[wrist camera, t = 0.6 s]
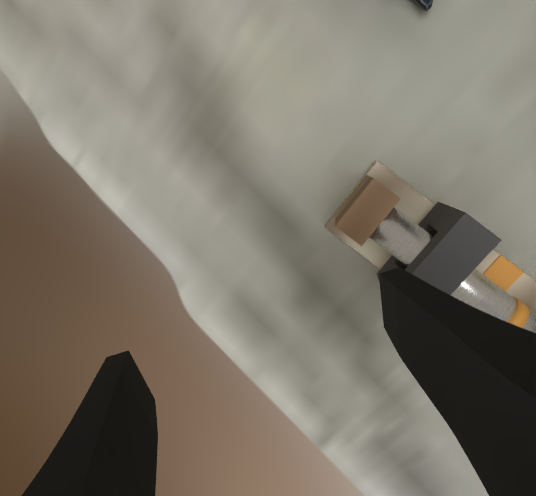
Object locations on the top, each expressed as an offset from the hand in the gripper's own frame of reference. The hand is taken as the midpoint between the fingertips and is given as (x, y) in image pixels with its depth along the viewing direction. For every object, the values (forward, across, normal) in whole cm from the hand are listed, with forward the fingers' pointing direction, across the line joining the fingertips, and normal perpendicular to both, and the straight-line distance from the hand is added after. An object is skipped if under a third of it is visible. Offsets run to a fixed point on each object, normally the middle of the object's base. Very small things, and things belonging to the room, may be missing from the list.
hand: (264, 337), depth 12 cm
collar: (+14, -12, +10) cm, 21 cm away
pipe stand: (+15, -15, +13) cm, 25 cm away
